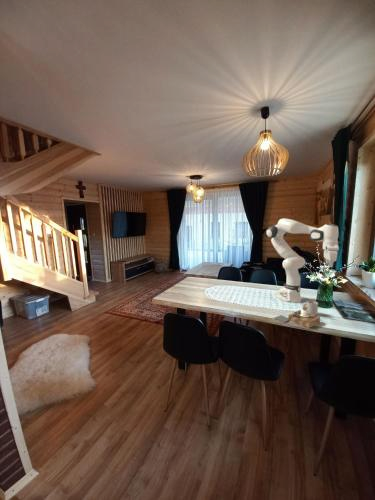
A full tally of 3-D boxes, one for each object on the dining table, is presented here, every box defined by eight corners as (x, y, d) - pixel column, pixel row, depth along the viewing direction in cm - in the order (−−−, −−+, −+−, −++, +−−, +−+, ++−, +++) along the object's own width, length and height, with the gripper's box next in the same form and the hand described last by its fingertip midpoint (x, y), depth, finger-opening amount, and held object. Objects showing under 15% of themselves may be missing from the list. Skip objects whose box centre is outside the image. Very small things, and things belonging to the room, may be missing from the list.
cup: (317, 316, 148) (318, 304, 146) (301, 313, 153) (302, 302, 152) (317, 312, 154) (317, 301, 153) (302, 310, 159) (302, 299, 158)
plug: (296, 320, 141) (297, 308, 140) (301, 318, 145) (302, 306, 144) (305, 324, 136) (306, 311, 135) (311, 322, 139) (311, 309, 138)
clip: (295, 315, 138) (295, 311, 137) (291, 314, 140) (291, 310, 139) (307, 310, 145) (307, 306, 145) (303, 309, 147) (304, 305, 147)
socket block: (288, 320, 143) (288, 313, 142) (299, 315, 150) (299, 308, 149) (308, 328, 131) (309, 321, 130) (319, 322, 138) (320, 315, 137)
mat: (274, 318, 146) (274, 317, 145) (281, 315, 150) (281, 315, 150) (284, 322, 139) (284, 321, 139) (291, 319, 143) (291, 319, 143)
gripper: (321, 245, 154) (321, 263, 155) (328, 247, 135) (327, 268, 137) (331, 245, 151) (330, 263, 153) (339, 248, 133) (338, 268, 134)
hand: (329, 265), depth 144 cm, fingers open, 8 cm apart
